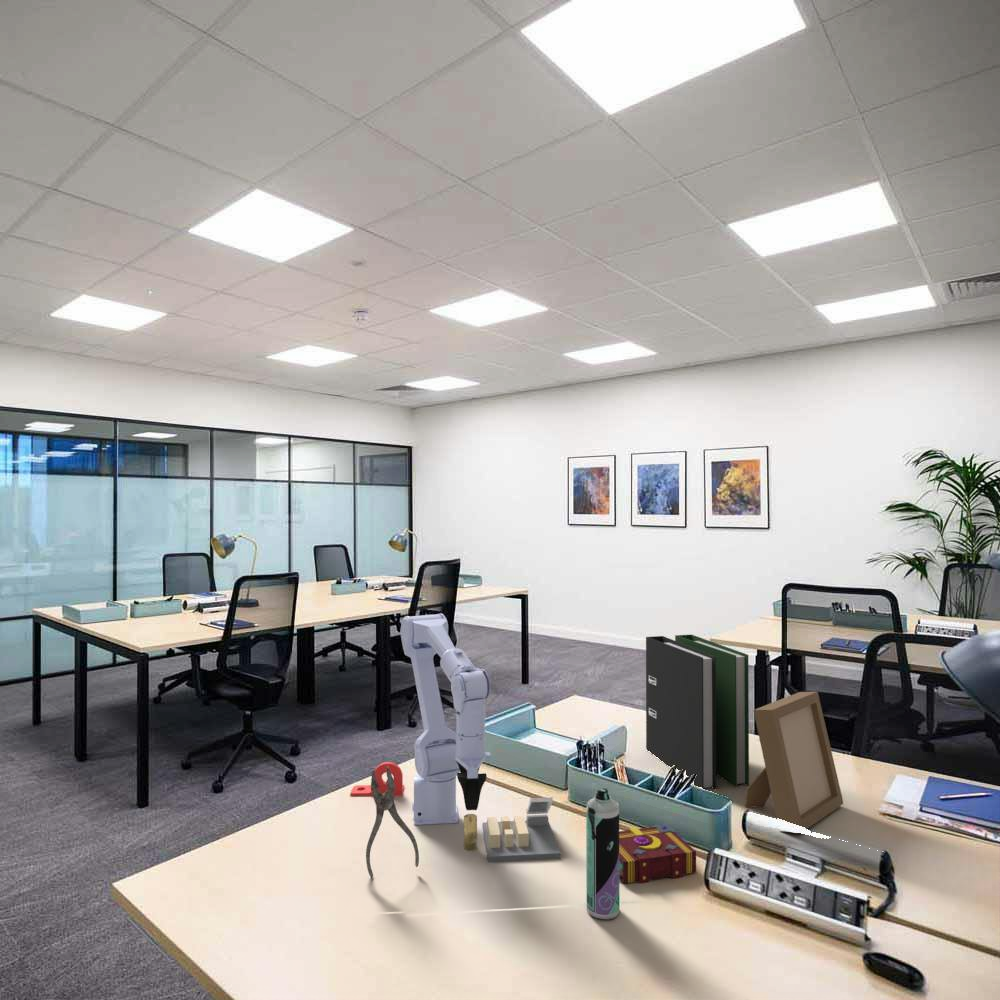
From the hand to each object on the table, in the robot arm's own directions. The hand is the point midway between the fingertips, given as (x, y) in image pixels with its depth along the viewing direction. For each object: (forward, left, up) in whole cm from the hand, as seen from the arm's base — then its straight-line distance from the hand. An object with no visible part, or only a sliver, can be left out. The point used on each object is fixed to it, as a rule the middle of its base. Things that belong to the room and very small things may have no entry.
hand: (470, 800), depth 133 cm
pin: (0, 0, -9) cm, 9 cm away
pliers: (-15, -9, -10) cm, 20 cm away
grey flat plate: (+14, +7, -6) cm, 17 cm away
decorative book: (+32, -10, -10) cm, 35 cm away
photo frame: (+72, +9, -9) cm, 73 cm away
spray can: (+21, -23, -9) cm, 33 cm away
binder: (+60, +35, -9) cm, 70 cm away
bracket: (-20, +27, -10) cm, 36 cm away
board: (+10, +1, -9) cm, 14 cm away
